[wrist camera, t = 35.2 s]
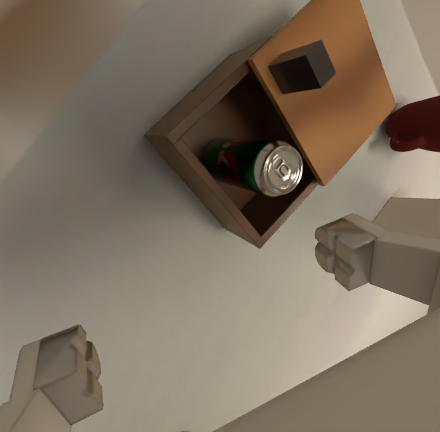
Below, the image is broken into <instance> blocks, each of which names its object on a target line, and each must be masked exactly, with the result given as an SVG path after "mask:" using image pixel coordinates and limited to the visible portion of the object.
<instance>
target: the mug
mask: <svg viewBox="0 0 440 432" xmlns="http://www.w3.org/2000/svg"><path fill="white" fill-rule="evenodd" d="M386 131H387V134H388V135H389V136H390V137H391V139H390V147H391V148H392V150H394V151H398V152H406V151H411V150H415V149H418V148H420V149H424V150H428V151H434V152H440V96H437V97H433V98H429V99H425V100H421V101H417V102H413V103H410V104H407V105H405V106H403V107H402V108H400V109H398V110H397V111H395V112H394V113H392V114H391V115H390V116H389V118H388V120H387V123H386Z"/></svg>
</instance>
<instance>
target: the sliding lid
mask: <svg viewBox="0 0 440 432" xmlns="http://www.w3.org/2000/svg"><path fill="white" fill-rule="evenodd" d="M248 63H249V64H250V66H251V68H252V69H253V71H254V73H255V75H256V76H257V78H258V80H259V81H260V83H261V85H262V87H263V88H264V90H265V92H266V94H267V95H268V97H269V99H270V100H271V102H272V104H273V106H274V107H275V109H276V111H277V112H278V114H279V116H280V118H281V119H282V121H283V123H284V125H285V126H286V128H287V130H288V131H289V133H290V135H291V137H292V138H293V140H294V142H295V144H296V145H297V147H298V149H299V150H300V152H301V154H302V156H303V157H304V159H305V161H306V162H307V164H308V166H309V168H310V169H311V171H312V173H313V175H314V176H315V178H316V180H317V181H318V183H319V185H320V186H325V185H326V184H327V183H328V182H329V181H330V180H331V179H332V178H333V176H334V175H335V174H336V173H337V172H338V171H339V170H340V169H341V168H342V166H343V165H344V164H345V163H346V162H347V161H348V160H349V159H350V157H351V156H352V155H353V154H354V153H355V152H356V151H357V150H358V149H359V147H360V146H361V145H362V144H363V143H364V142H365V141H366V140H367V139H368V137H369V136H370V135H371V134H372V133H373V132H374V131H375V130H376V128H377V127H378V126H379V125H380V124H381V123H382V122H383V121H384V120H385V118H386V117H387V116H388V115H389V114H390V113H391V112H392V111H393V109H394V108H395V107H396V104H395V101H394V98H393V95H392V93H391V90H390V87H389V84H388V81H387V78H386V75H385V72H384V69H383V67H382V64H381V61H380V58H379V55H378V52H377V49H376V46H375V43H374V40H373V38H372V35H371V32H370V29H369V26H368V23H367V20H366V17H365V14H364V12H363V9H362V6H361V3H360V0H311V1H310V2H309V3H307V4H306V5H305V6H304V7H303V8H302V9H301V10H300V11H299V12H298V13H297V14H296V15H295V16H294V17H293V18H292V19H291V20H289V21H288V22H287V23H286V24H285V25H284V26H283V27H282V28H281V29H280V30H279V31H278V32H277V33H276V34H275V35H274V36H272V37H271V38H270V39H269V40H268V41H267V42H266V43H265V44H264V45H263V46H262V47H261V48H260V49H259V50H258V51H257V52H256V53H254V54H253V55H252V56H251V57H250V58H249V59H248Z"/></svg>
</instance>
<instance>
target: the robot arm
mask: <svg viewBox="0 0 440 432" xmlns="http://www.w3.org/2000/svg"><path fill="white" fill-rule="evenodd" d="M315 239H316V240H317V241H319V242H318V243H317V245H316V247H315V256H316V258H317V261H318V263H319V264H320V266H321V267H322V268H323V269H324V270H325V271H326V272H329V273H333V274H334V275H335V280H336V281H338V282H339V283H340V284H341V285H342V286H343V287H344V288H346V289H347V290H348V291H350V290H353V289H355V288H357V287H359V286H362V285H364V284H366V283H370V284H372V285H375V286H378V287H380V288H383V289H386V290H389V291H391V292H394V293H397V294H399V295H402V296H405V297H408V298H410V299H413V300H416V301H419V302H421V303H424V304H427V305H429V308H428V312H427V315H426V316H424V317H422V318H420V319H418V320H416V321H414V322H413V323H411V324H409V325H407V326H405V327H403V328H402V329H400V330H398V331H396V332H394V333H392V334H391V335H389V336H387V337H385V338H383V339H381V340H380V341H378V342H376V343H374V344H372V345H370V346H369V347H367V348H365V349H363V350H361V351H359V352H358V353H356V354H354V355H352V356H350V357H348V358H347V359H345V360H343V361H341V362H339V363H337V364H336V365H334V366H332V367H330V368H328V369H326V370H325V371H323V372H321V373H319V374H317V375H316V376H314V377H312V378H310V379H308V380H306V381H305V382H303V383H301V384H299V385H297V386H295V387H294V388H292V389H290V390H288V391H286V392H284V393H283V394H281V395H279V396H277V397H275V398H273V399H272V400H270V401H268V402H266V403H264V404H262V405H261V406H259V407H257V408H255V409H253V410H252V411H250V412H248V413H246V414H244V415H242V416H241V417H239V418H237V419H235V420H233V421H231V422H230V423H228V424H226V425H224V426H222V427H220V428H219V429H217V430H215V431H213V432H440V239H436V238H429V237H423V236H417V235H411V234H404V233H398V232H392V233H389V232H387V231H385V230H384V229H382V228H380V227H378V226H377V225H375V224H373V223H371V222H370V221H368V220H366V219H364V218H362V217H361V216H359V215H357V214H353V213H352V214H349V215H347V216H345V217H342V218H340V219H338V220H336V221H333V222H331V223H328V224H326V225H324V226H321V227H319V228H317V229H316V231H315ZM100 374H101V367H100V361H99V357H98V353H97V351H96V349H95V347H94V345H93V343H92V342H89V341H86V332H85V330H84V329H83V327H82V326H81V325H76V326H73V327H71V328H68V329H66V330H63V331H60V332H58V333H55V334H52V335H50V336H47V337H44V338H42V339H40V340H38V341H35V342H32V343H30V344H27V345H24V346H23V347H22V349H21V350H20V352H19V357H18V362H17V367H16V371H15V376H14V381H13V386H12V390H11V395H10V400H9V401H8V402H6V403H4V404H2V406H1V407H0V432H70V431H71V428H72V426H71V425H73V424H75V423H77V422H79V421H81V420H83V419H85V418H87V417H89V416H90V415H92V414H94V413H96V412H98V411H100V410H102V409H103V397H102V386H101V385H100V383H99V382H98V378H99V376H100Z"/></svg>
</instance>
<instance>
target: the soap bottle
mask: <svg viewBox="0 0 440 432" xmlns="http://www.w3.org/2000/svg"><path fill="white" fill-rule="evenodd" d="M373 224H375V225H377V226H378V227H380V228H382V229H384V230H385V231H387V232H389V233H392V232H398V233H404V234H411V235H417V236H423V237H429V238H436V239H440V199H423V198H397V197H391V198H390V199H389V201H388V202H387V204H386V205H385V206H384V208H383V209H382V210H381V212H380V213H379V215H378V216H377V217H376V219H375V220H374V222H373Z"/></svg>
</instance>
